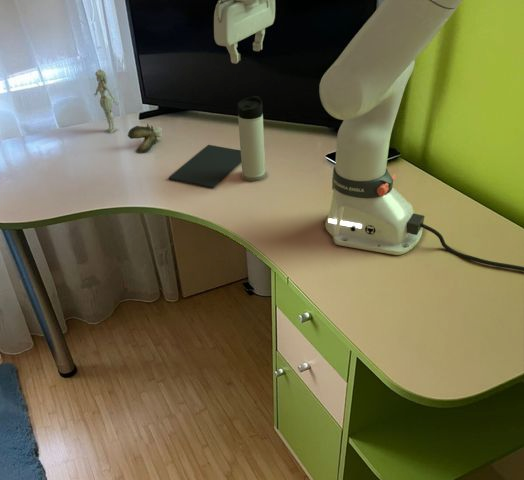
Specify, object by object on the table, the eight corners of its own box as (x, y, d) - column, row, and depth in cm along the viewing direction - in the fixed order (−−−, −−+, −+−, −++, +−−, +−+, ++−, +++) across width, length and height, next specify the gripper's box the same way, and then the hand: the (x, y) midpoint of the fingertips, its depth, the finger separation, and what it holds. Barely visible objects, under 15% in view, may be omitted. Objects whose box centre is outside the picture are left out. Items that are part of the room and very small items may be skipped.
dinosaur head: (142, 134, 172) (123, 140, 165) (151, 115, 167) (131, 121, 160) (160, 151, 172) (141, 158, 165) (169, 133, 167) (150, 139, 160)
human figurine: (97, 127, 180) (82, 68, 167) (106, 123, 182) (92, 64, 169) (119, 137, 174) (105, 76, 161) (129, 133, 176) (116, 72, 163)
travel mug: (270, 173, 152) (267, 98, 138) (257, 183, 149) (253, 107, 135) (251, 168, 155) (246, 94, 141) (238, 178, 151) (232, 103, 137)
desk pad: (250, 154, 161) (250, 152, 161) (212, 188, 148) (212, 186, 147) (208, 146, 166) (208, 144, 166) (168, 179, 152) (168, 177, 152)
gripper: (228, 0, 113) (233, 72, 123) (279, -22, 125) (280, 45, 135) (203, -3, 116) (210, 67, 126) (256, -24, 128) (258, 42, 138)
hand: (247, 56), depth 130 cm, fingers open, 8 cm apart
